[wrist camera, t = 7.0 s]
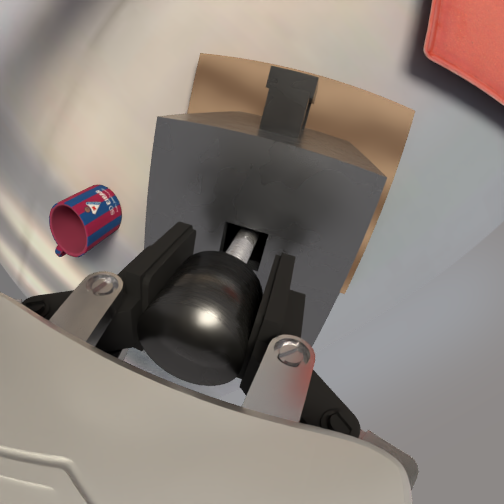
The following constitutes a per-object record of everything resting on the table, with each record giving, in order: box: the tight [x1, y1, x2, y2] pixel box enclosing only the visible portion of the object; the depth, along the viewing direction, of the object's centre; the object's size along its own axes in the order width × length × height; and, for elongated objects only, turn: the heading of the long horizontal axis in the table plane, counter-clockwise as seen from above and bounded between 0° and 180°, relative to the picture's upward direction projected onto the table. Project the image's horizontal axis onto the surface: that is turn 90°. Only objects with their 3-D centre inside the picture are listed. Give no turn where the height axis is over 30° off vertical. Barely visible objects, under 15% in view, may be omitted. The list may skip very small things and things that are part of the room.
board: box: [187, 53, 415, 294], centre depth 27 cm, size 20×20×2 cm
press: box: [144, 66, 387, 347], centre depth 19 cm, size 13×10×15 cm
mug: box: [49, 185, 122, 257], centre depth 32 cm, size 7×10×7 cm
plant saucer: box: [423, 0, 504, 106], centre depth 14 cm, size 18×18×3 cm
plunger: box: [137, 226, 263, 386], centre depth 17 cm, size 8×8×21 cm
